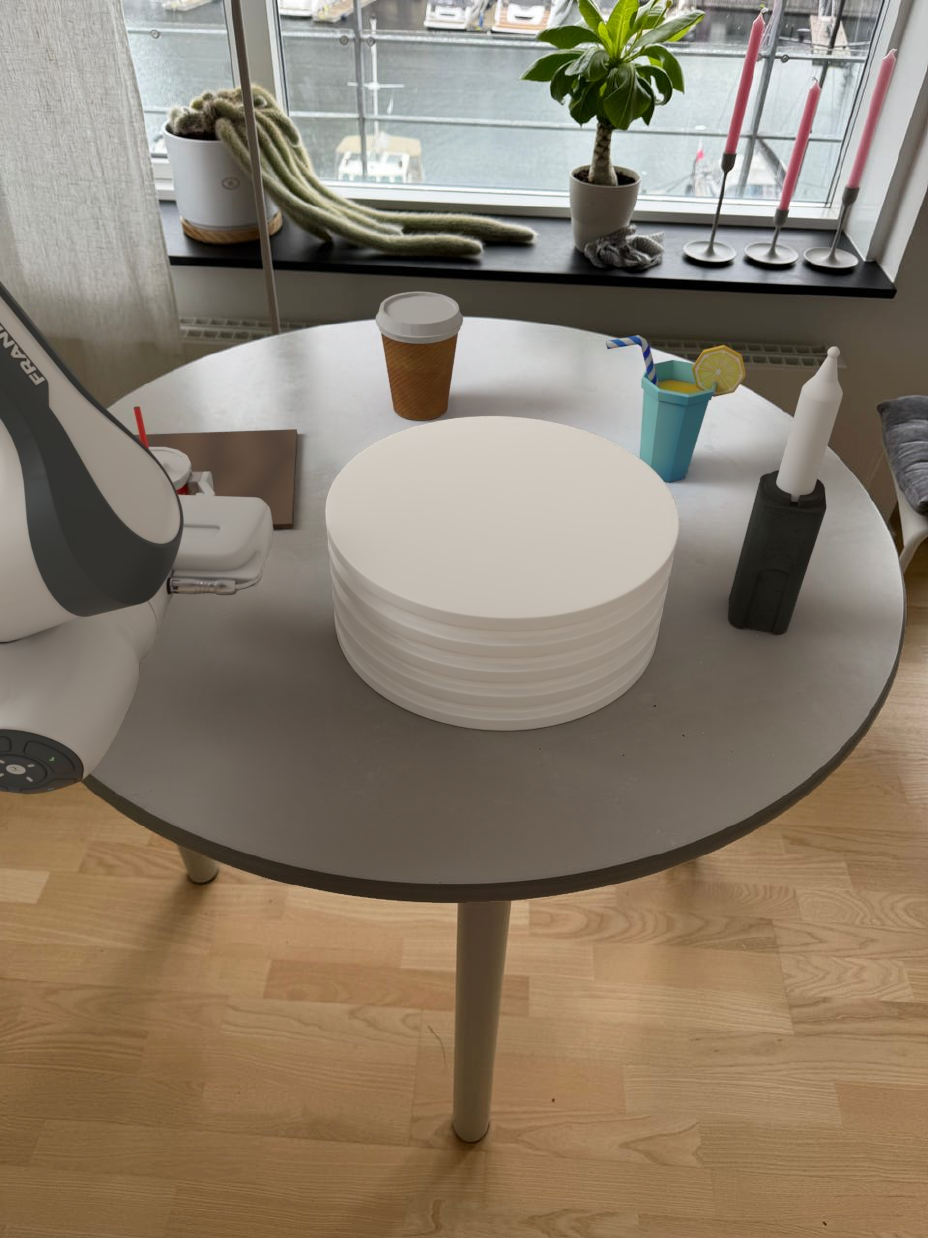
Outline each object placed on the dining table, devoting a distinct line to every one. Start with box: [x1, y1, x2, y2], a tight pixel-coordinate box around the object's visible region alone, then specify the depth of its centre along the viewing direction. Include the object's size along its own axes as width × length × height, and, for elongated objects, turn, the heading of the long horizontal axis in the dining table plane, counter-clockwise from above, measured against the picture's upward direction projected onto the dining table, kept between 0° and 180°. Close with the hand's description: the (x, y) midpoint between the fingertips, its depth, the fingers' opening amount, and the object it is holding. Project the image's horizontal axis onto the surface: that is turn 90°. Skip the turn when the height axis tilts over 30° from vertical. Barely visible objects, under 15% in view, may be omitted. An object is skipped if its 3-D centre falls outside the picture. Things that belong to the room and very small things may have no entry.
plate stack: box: [324, 415, 681, 732], centre depth 81 cm, size 28×28×12 cm
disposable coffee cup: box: [375, 291, 464, 421], centre depth 108 cm, size 10×10×12 cm
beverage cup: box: [133, 406, 191, 495], centre depth 75 cm, size 6×6×14 cm
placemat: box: [134, 428, 298, 530], centre depth 99 cm, size 18×18×1 cm
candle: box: [727, 345, 844, 635], centre depth 77 cm, size 5×5×25 cm
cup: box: [605, 334, 747, 483], centre depth 98 cm, size 14×8×15 cm, turn 92°
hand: (155, 477), depth 75 cm, fingers closed on beverage cup, 6 cm apart
